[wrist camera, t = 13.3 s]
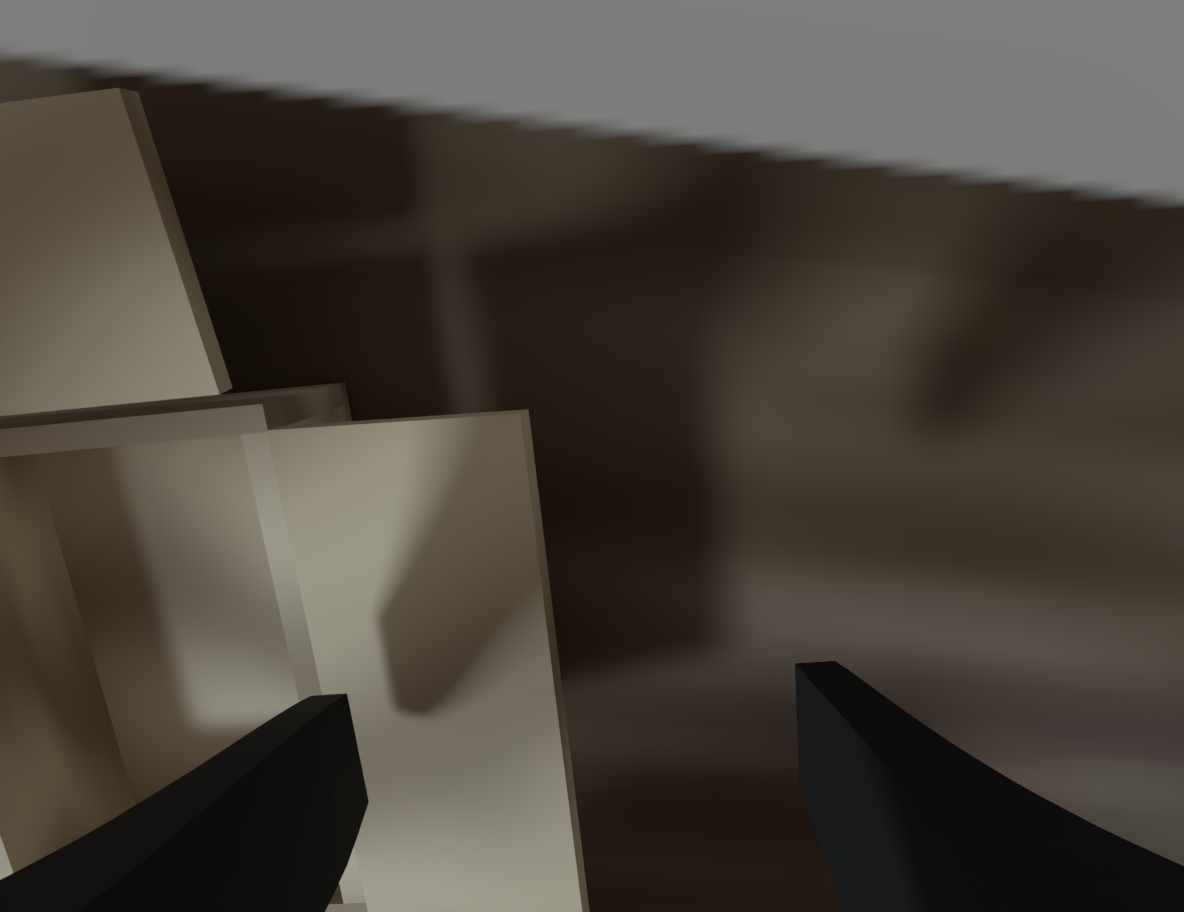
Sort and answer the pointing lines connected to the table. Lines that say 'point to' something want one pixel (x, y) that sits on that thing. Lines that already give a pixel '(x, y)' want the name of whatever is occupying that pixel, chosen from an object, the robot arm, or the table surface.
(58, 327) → the flap
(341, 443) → the flap
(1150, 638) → the table surface
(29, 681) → the carton
